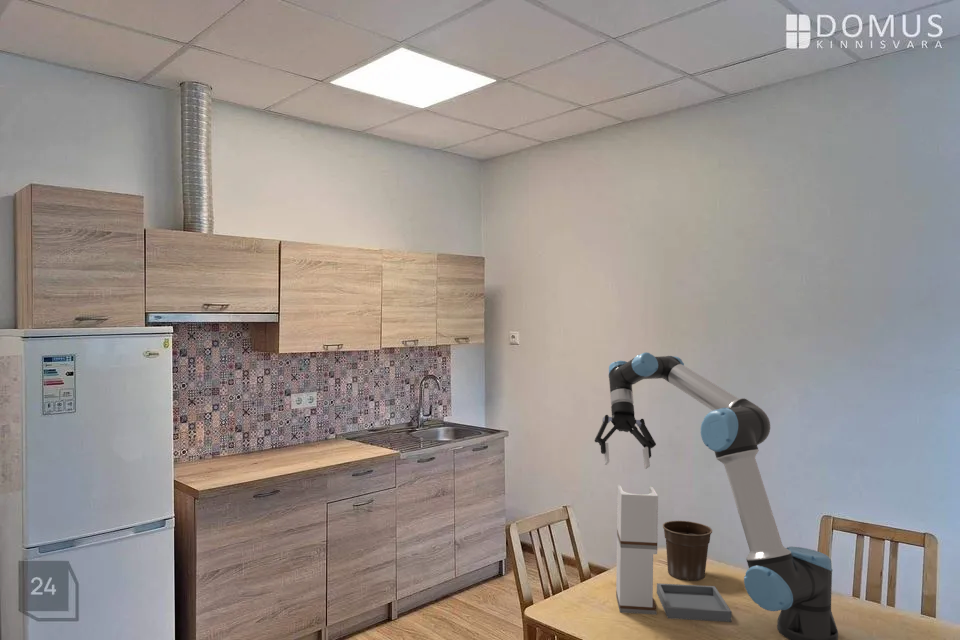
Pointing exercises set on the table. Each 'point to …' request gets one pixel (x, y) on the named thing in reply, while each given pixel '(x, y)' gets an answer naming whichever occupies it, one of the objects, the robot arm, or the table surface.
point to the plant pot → (687, 549)
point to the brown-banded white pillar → (636, 551)
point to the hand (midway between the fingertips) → (627, 465)
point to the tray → (693, 602)
